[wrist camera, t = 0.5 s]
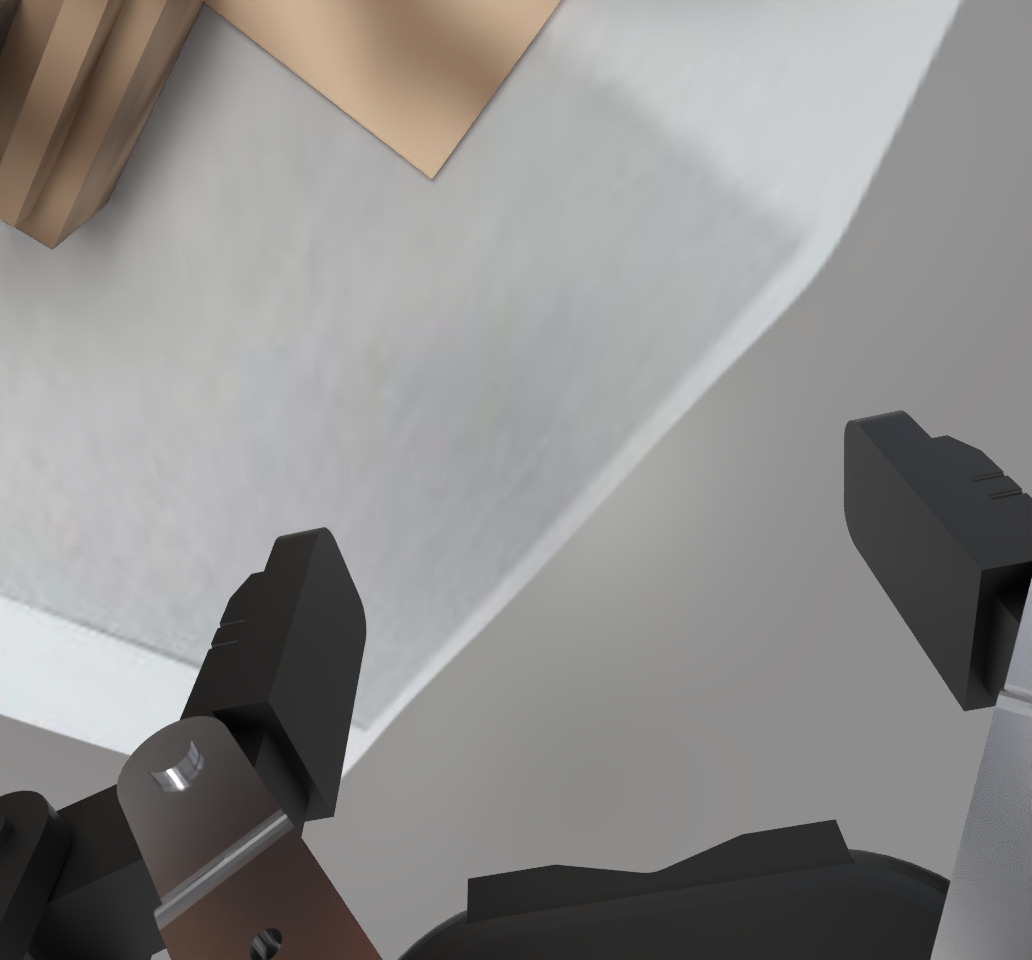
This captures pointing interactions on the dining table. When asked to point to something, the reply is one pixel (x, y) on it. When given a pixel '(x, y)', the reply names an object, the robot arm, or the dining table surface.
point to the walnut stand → (79, 103)
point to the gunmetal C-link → (6, 18)
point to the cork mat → (398, 59)
